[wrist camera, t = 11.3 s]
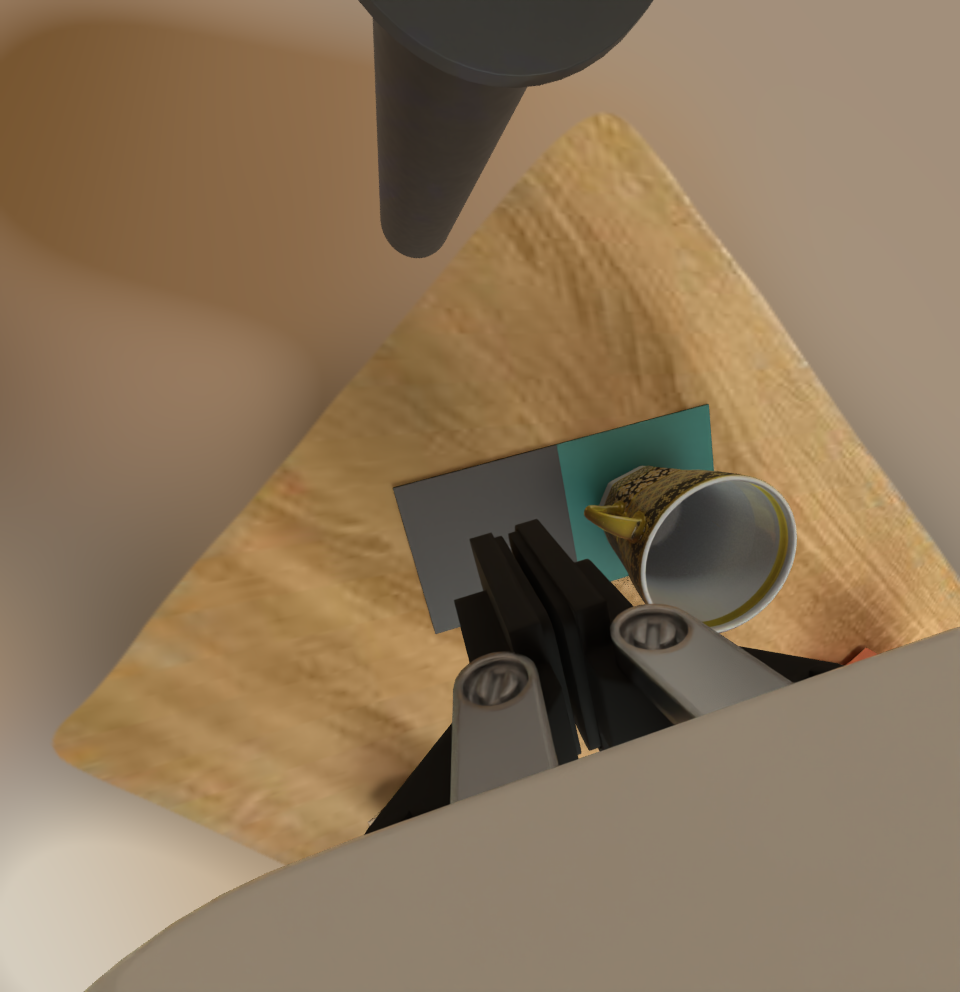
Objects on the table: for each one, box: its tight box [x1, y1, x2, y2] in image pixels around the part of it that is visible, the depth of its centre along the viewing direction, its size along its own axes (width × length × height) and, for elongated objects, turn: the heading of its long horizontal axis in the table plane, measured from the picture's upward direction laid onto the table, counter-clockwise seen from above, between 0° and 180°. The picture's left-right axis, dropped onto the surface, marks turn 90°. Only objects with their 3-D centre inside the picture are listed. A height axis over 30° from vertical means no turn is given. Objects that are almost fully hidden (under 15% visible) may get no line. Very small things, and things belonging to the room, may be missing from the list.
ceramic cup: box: [584, 466, 797, 633], centre depth 33 cm, size 13×10×10 cm
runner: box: [393, 404, 714, 634], centre depth 37 cm, size 12×24×1 cm, turn 103°
